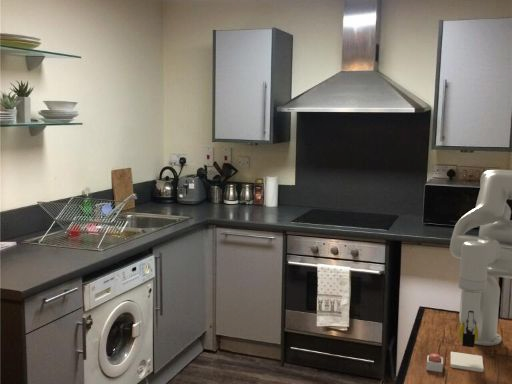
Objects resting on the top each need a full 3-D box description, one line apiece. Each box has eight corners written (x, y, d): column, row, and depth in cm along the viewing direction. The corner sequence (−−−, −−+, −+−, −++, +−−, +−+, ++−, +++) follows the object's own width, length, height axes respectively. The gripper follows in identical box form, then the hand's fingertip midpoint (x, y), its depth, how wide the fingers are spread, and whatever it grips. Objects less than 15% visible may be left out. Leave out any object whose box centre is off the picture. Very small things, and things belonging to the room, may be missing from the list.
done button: (430, 358, 166) (430, 352, 166) (440, 359, 166) (440, 354, 165) (429, 362, 164) (430, 356, 164) (439, 363, 163) (440, 358, 163)
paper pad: (450, 354, 174) (450, 351, 174) (481, 359, 171) (481, 355, 171) (450, 367, 166) (450, 364, 165) (483, 372, 163) (483, 368, 163)
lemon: (453, 344, 168) (455, 319, 167) (464, 340, 171) (466, 315, 170) (470, 351, 163) (472, 325, 162) (481, 347, 167) (483, 321, 165)
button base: (426, 363, 168) (427, 355, 167) (442, 365, 166) (443, 357, 166) (426, 369, 164) (426, 361, 163) (442, 372, 162) (442, 363, 162)
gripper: (458, 274, 174) (454, 330, 176) (459, 290, 158) (454, 351, 160) (484, 277, 171) (479, 333, 174) (488, 294, 155) (482, 356, 158)
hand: (467, 341), depth 167 cm, fingers closed on lemon, 5 cm apart
